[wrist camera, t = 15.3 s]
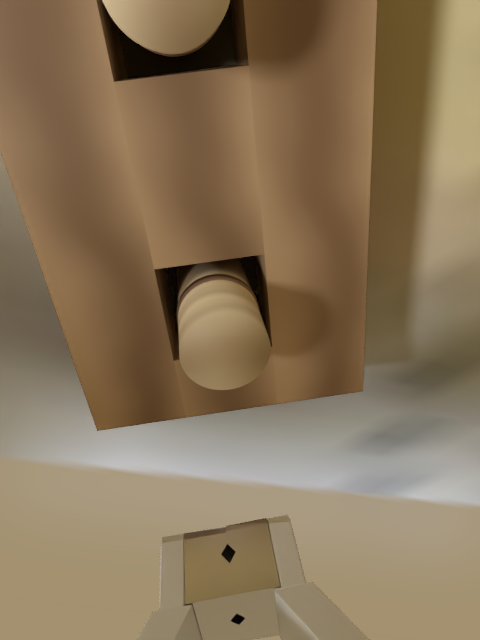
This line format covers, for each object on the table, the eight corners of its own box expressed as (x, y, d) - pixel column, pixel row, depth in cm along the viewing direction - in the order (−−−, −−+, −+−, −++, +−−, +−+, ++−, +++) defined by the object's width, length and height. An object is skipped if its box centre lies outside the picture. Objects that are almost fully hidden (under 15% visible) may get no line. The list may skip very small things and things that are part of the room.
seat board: (109, 378, 28) (97, 430, 24) (-61, -181, 16) (-143, -261, 12) (338, 345, 28) (363, 391, 24) (340, -222, 16) (388, -311, 12)
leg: (171, 243, 24) (172, 316, 17) (242, 237, 24) (271, 306, 17) (179, 306, 26) (182, 396, 19) (245, 300, 26) (272, 386, 19)
